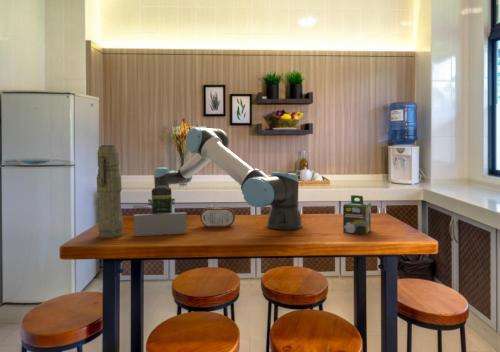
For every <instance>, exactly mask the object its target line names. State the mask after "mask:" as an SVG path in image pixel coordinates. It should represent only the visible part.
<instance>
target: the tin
mask: <svg viewBox="0 0 500 352" xmlns="http://www.w3.org/2000/svg"><path fill="white" fill-rule="evenodd" d="M199 218H200V222H201V224H202V225H203V226H205V227H209V228H217V227H218V228H224V227H225V228H227V227H230V226H232V225H233V224H234V222H235V219H236V214H235V211H234V210H233V209H232V208H231V207H227V206H209V207H208V206H207V207H204V208H203V209H202V211H200V216H199Z"/></svg>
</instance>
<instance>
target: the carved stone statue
mask: <svg viewBox="0 0 500 352" xmlns="http://www.w3.org/2000/svg"><path fill="white" fill-rule="evenodd" d="M96 155H97V156H96V157H97V167H98V170H97V176H96V191H97V193H98V209H99V210H98V215H99V216H98V219H97V226H98V227H97V228H98V233H99V234H98V237H99V238H100V239H115V238H120V237H122V236H123V235H124V233H123V230H124V220H123V219H124V217H123V215H122V201H121V200H122V199H121V198H122V197H121V193H122V176H121V172H120V168H119V166H120V155H119V150H118V148H117V146H115V145H113V144H112V145H109V144H107V145H106V144H103V145H102V144H101V146H99V147H98V150H97V154H96Z"/></svg>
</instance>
